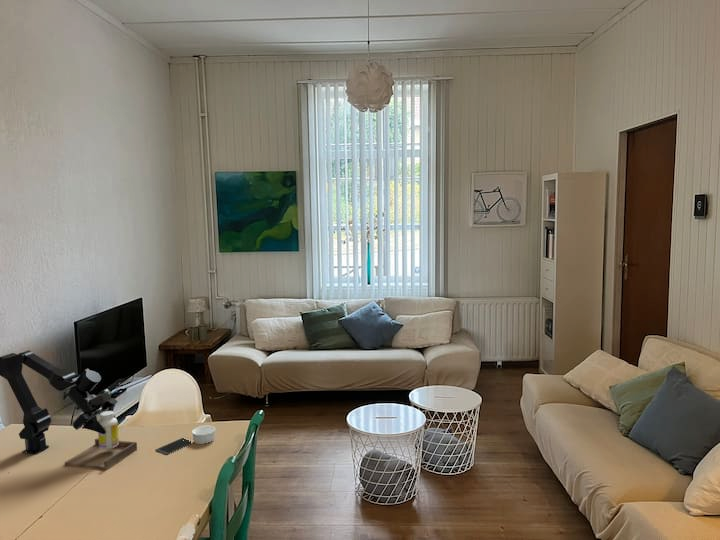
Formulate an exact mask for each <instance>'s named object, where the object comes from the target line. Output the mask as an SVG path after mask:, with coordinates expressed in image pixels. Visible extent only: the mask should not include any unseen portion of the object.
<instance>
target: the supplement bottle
mask: <svg viewBox="0 0 720 540" xmlns="http://www.w3.org/2000/svg"><path fill="white" fill-rule="evenodd" d="M113 411H114V410H113ZM113 411H106V412H102V413H99V418H100V420H99V421H98V422H99V423H100V425H101V426H102V427H103V428H104V429H105V431H106V433H105V434H102V433H99V432H97V434H98V439H99V447H100V448H101V449H111V448H114V447H116V446H117V445H118V444H119V441H120V439H119V437H120V436H119V424H118V423H119V422H118V419H117V418H116V417H115V418H114V415H115V411H114V412H113Z"/></svg>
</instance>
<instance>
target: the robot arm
mask: <svg viewBox="0 0 720 540" xmlns="http://www.w3.org/2000/svg"><path fill="white" fill-rule="evenodd" d="M23 365H24V366H26V367H28V368H29V369H31V370H32V371H34V372H36V373H37V374H39V375H41V376H43V377H44V378H45V379H47V380H48V382H49V384H50V386H51V387H53V388H54V389H55V390H57V391H59V392H61V391H64V392H63V397H62V398H63V400H68V399H70V400H71V401H72V402H73V403H74V404H75V405H76V407H75V410H76V411H81V412H82V414H79V415H78V416H77V418H76V419H75V420H74V421H73V422H72V427H73V428H74V429H75V430H76V431H77V430H79V429H82V430H84V429H86V430H90V431H92V432H96V433H98V432H99V433H102V434H105V433H106V431H105V429H104V428H103V427H102V426H101V425H100V423H99V421H98V417H97V415H100V414H101V413H102V412H106V411H113V412H114V413H115V411H114V409H115V406H116V404H118V402H119V401H118V400H117V399H116V398H115V397H112V392H111V390H109V389H108V388H106V389H103V390H102V391H101V392H100V393H101V394H98V395H96V394H90V393H89V392H92V390H94V388H96V385H98V384H99V383H100V381H101V380H102V376H101V375H100V373H99V372H98V371H97V372H96V371H95V370H90V369H89V368H85V369H84V370H83V371H82V372H81V374H77V373H75V372H74V371H72V370H69V369H66V368H61V367H60V368H59V367H57V366H55V365H54V364H52V363H50V362H48V361H47V360H45V359H44V358H42V357H40V356H39V355H38V354H35V353H34V352H33V351H32V350H26V351H25V350H24V351H22V352H19V353H14V352H11V353H8V354H3V355H1V356H0V376H1V377H2V378H4V379H5V380H6V381H7V383H8V384H9V386H10V388H11V390H12V392H13V394H14V396H15V398H16V400H17V402H18V405H19V406H20V408H21V410H22V412H23V418H22V423H23V428H22V429H21V431H19V433H18V435H19V438H20V439H21V440H24V445H25V449H24V450H22V451H21V452H27V453H26V454H30V453H34V454H33V455H36V453H37V454H38V452H39V453H41V452H42V451H44V450H46V449H48V448H49V447H50V445H47V442H46V441H47V440H46V434H45V432H47V431H49V428H50V425H51V423H52V419H51V418H52V416H51V415H50V413H49V410H48V408H47V407H45V408H42V407H40V406H38V404H37V401H36V400H35V398H34V396H33V393H32V391H31V390H30V388H29V386H28V384H27V381H26V379H25V378H24V375H23V373H22V372H23V368H24V367H23ZM67 389H68V390H67ZM65 390H66V391H65ZM114 418H116V415H115V414H114Z"/></svg>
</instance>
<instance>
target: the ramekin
mask: <svg viewBox="0 0 720 540" xmlns="http://www.w3.org/2000/svg"><path fill="white" fill-rule="evenodd" d="M191 432H192V433H191V434H192V437H193V438H192V439H193V440H194V442H195V443H194V444H196V443H198V444H197V445H205V444H204V443H207V444H209V443H208V442H210V443H212V442H213V441H214V440H215V438H216V437H215V436H216V435H215V434H216V427H214V426H213V425H201V426H198V427H195V428H194V429H192V431H191ZM211 441H212V442H211Z"/></svg>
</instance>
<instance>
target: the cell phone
mask: <svg viewBox="0 0 720 540" xmlns="http://www.w3.org/2000/svg"><path fill="white" fill-rule="evenodd" d="M183 440H184V441H183ZM189 444H191V441H190V442H189V440H186V439H184V438H183V437H181V438H179V439H176V440H174V441H172V442H170V443H167V444H165V445H163V446H161V447H158V448H156V449H155V452H156V451H157V452H156V453H159V452H160V453H159V454H162V455H164V456H168V454H169V455H171V454H173V453H175V452H177V451H179V449H180V450H182V449H184V448H186V447H188V446H190V445H189ZM187 445H188V446H187ZM191 445H192V444H191ZM185 446H186V447H185ZM183 447H184V448H183ZM181 448H182V449H181ZM176 450H177V451H176ZM174 451H175V452H174ZM172 452H173V453H172ZM170 453H171V454H170Z"/></svg>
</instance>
